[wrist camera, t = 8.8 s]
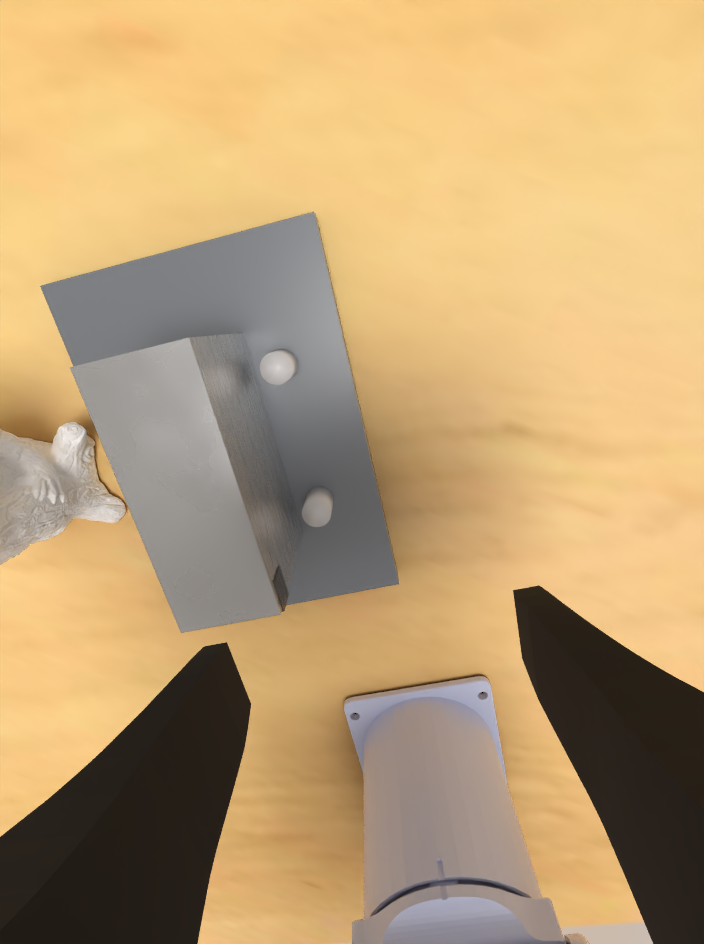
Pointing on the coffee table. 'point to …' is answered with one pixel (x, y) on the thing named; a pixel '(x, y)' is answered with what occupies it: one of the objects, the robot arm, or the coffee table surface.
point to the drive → (199, 474)
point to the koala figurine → (49, 488)
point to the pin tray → (259, 374)
